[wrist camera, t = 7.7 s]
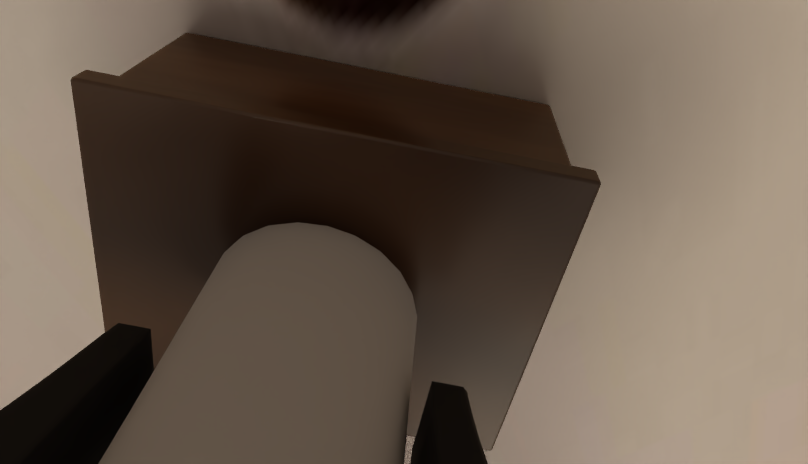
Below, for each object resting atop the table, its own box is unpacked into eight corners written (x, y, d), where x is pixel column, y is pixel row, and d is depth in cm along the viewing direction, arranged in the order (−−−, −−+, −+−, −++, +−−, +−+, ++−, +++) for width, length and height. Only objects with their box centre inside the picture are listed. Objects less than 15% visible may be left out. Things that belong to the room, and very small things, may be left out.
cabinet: (479, 346, 21) (484, 469, 17) (183, 290, 21) (113, 402, 16) (564, 95, 16) (602, 183, 12) (174, 17, 16) (68, 77, 11)
